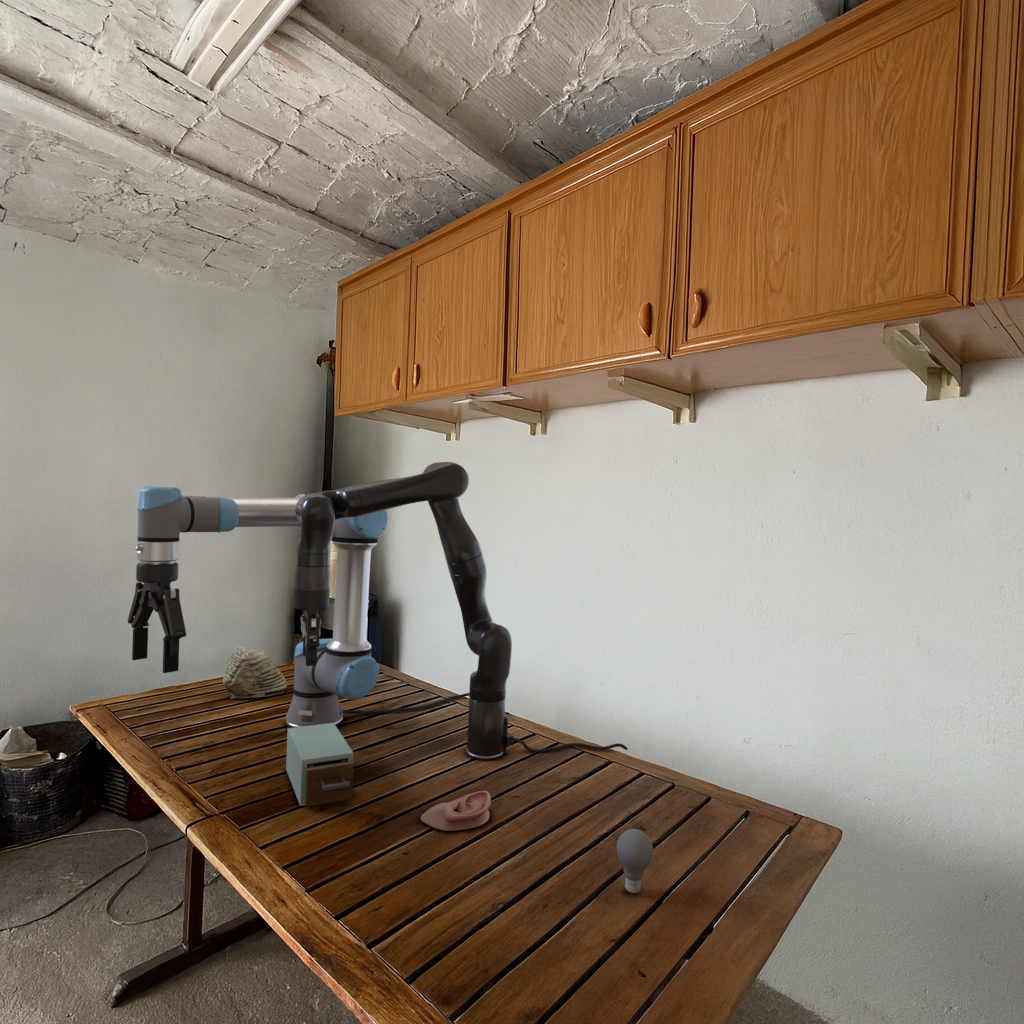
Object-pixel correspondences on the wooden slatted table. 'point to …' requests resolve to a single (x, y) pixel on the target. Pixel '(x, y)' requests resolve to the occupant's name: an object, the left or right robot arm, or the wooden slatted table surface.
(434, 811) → the anatomical model
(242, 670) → the fossil
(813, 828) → the wooden slatted table surface
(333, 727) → the cabinet
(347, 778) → the drawer
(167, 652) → the left robot arm
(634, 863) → the light bulb
